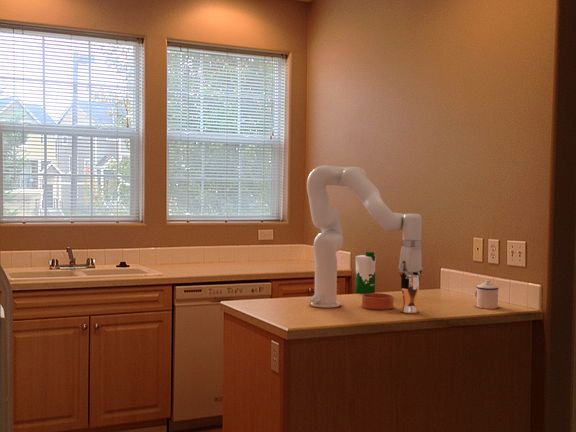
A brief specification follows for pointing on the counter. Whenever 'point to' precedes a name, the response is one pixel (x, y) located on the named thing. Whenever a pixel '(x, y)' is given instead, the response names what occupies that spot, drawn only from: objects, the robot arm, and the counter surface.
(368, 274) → the milk carton
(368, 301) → the bowl
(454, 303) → the counter surface
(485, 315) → the counter surface
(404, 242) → the robot arm
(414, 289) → the beer glass
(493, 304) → the teacup with lid
